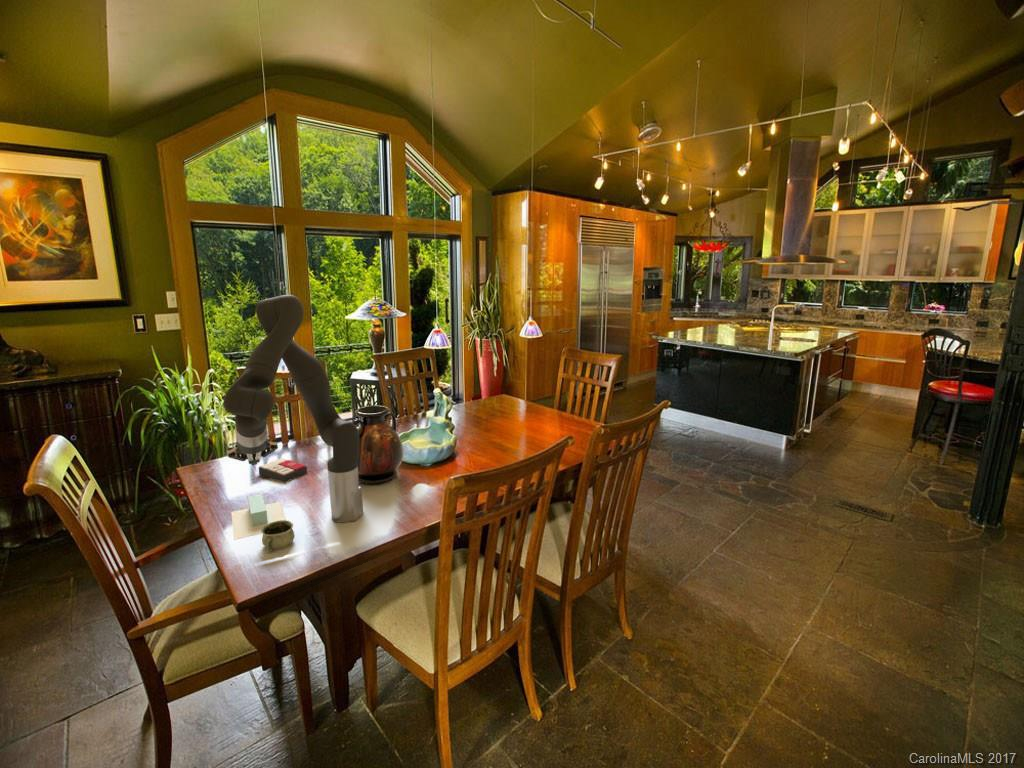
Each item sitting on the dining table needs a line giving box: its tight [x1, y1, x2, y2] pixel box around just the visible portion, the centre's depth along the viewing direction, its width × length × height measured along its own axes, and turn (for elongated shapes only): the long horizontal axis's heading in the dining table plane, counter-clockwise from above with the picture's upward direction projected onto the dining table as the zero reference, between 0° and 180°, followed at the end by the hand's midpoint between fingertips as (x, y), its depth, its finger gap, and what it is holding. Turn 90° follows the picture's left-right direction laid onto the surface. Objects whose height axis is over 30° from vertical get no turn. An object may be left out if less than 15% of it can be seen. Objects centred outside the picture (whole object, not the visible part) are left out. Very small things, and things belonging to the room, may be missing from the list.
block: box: [247, 493, 268, 526], centre depth 163 cm, size 4×4×14 cm
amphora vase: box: [351, 405, 405, 486], centre depth 192 cm, size 22×22×28 cm
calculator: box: [258, 458, 308, 483], centre depth 198 cm, size 11×4×15 cm
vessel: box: [260, 519, 296, 554], centre depth 146 cm, size 12×9×6 cm
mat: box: [230, 501, 287, 541], centre depth 161 cm, size 20×15×1 cm
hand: (253, 461), depth 144 cm, fingers closed
